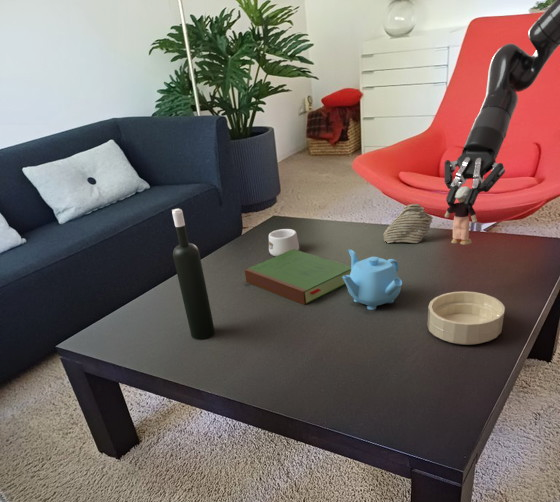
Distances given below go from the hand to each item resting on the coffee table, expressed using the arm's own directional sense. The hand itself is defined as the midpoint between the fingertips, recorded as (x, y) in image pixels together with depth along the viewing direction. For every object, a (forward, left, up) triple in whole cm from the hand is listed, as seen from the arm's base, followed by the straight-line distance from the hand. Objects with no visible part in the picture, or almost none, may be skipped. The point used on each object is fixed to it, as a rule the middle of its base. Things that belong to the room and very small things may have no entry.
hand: (458, 205), depth 116 cm
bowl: (-9, +13, -23) cm, 28 cm away
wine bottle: (+42, +45, -23) cm, 65 cm away
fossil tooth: (+29, -30, -23) cm, 47 cm away
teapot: (+16, +11, -23) cm, 30 cm away
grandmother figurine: (0, -2, -9) cm, 10 cm away
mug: (+60, -6, -23) cm, 64 cm away
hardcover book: (+40, +10, -23) cm, 47 cm away
